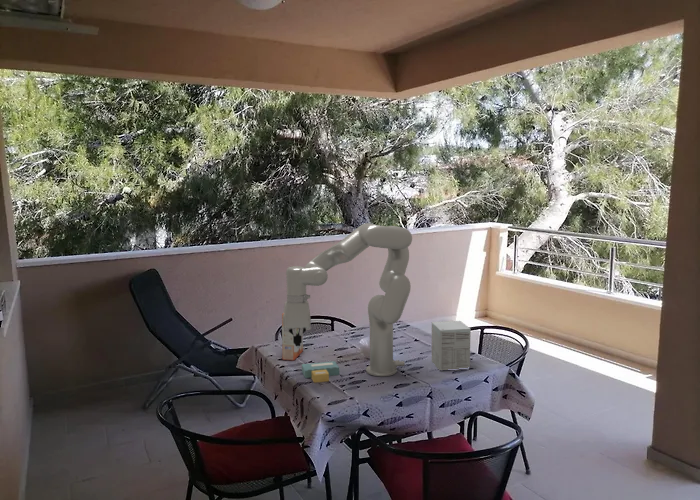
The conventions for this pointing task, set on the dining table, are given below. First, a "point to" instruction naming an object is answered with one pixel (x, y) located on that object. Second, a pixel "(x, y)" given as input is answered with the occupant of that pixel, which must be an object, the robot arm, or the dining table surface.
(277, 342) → the dining table surface
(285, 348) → the cracker box
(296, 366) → the dining table surface
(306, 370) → the teal labeled router
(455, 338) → the supplement box
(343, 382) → the dining table surface
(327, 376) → the yellow labeled box
